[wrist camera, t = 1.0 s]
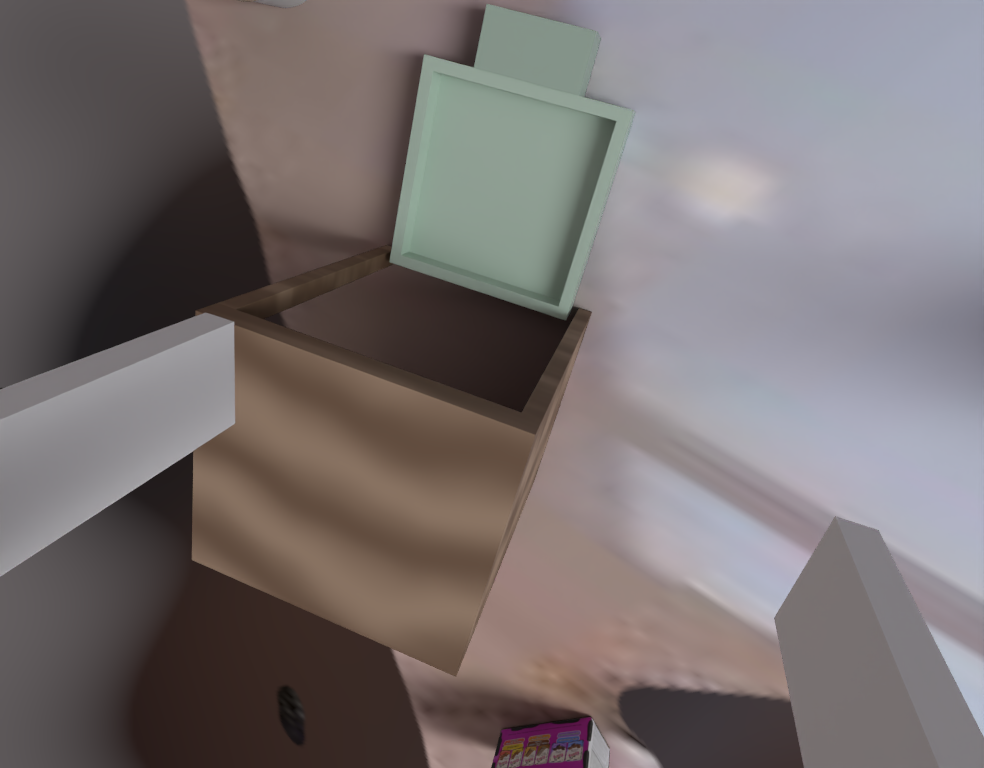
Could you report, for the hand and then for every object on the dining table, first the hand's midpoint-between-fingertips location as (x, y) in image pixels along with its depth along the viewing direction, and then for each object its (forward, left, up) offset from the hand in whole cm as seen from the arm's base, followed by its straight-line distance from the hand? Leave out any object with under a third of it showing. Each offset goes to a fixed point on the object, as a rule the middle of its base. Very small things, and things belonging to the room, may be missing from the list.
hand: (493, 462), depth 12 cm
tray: (-3, -8, -31) cm, 33 cm away
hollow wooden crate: (+13, -8, -32) cm, 35 cm away
